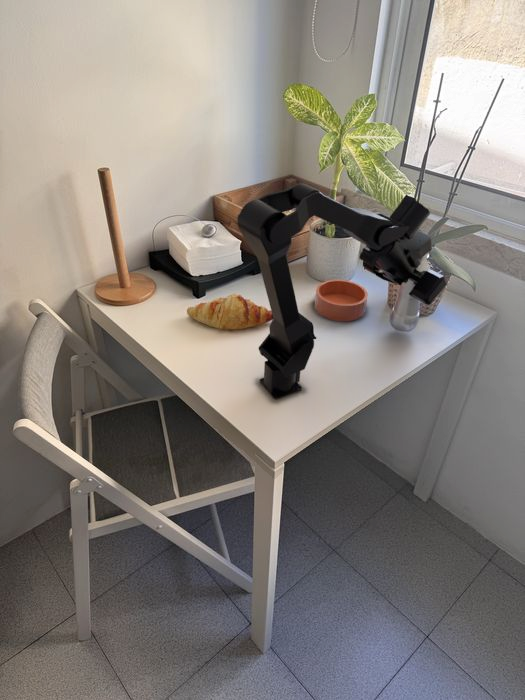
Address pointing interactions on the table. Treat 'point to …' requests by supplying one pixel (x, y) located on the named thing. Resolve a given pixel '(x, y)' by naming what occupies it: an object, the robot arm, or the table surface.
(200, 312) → the croissant
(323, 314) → the bowl
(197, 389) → the table surface
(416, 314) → the plastic bottle
